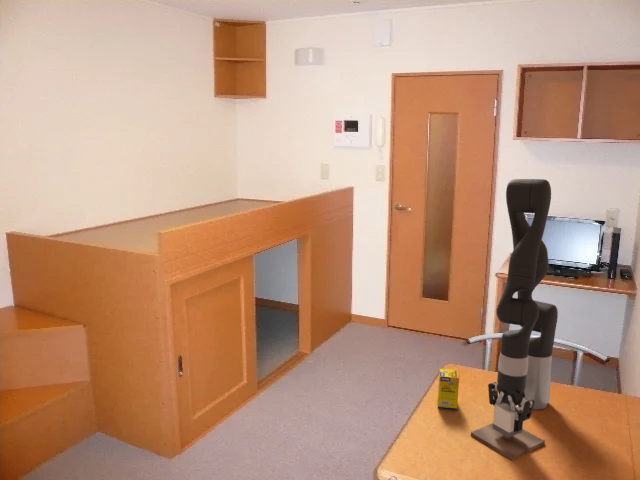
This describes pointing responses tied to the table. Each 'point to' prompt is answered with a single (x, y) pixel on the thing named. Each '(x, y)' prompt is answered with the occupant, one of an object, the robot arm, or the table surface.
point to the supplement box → (448, 389)
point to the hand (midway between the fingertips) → (507, 425)
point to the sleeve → (504, 420)
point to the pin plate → (508, 441)
